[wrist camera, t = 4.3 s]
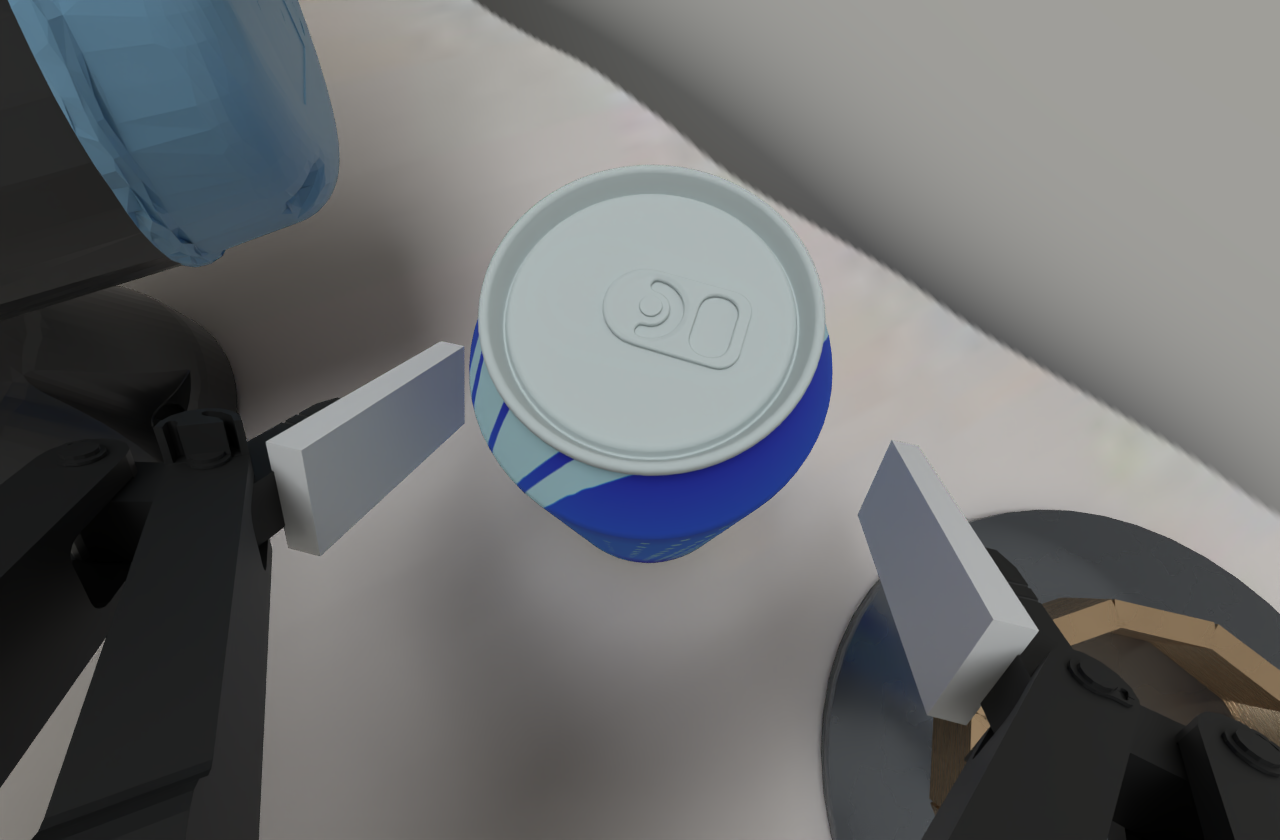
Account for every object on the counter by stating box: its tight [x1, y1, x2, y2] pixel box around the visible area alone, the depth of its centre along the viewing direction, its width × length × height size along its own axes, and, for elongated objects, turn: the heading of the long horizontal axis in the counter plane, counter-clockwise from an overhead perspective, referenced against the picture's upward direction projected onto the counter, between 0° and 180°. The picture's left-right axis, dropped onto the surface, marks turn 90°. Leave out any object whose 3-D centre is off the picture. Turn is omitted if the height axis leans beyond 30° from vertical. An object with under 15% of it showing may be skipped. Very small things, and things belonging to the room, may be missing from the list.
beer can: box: [469, 165, 832, 563], centre depth 17 cm, size 8×8×16 cm
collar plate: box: [821, 510, 1280, 840], centre depth 19 cm, size 22×22×4 cm
